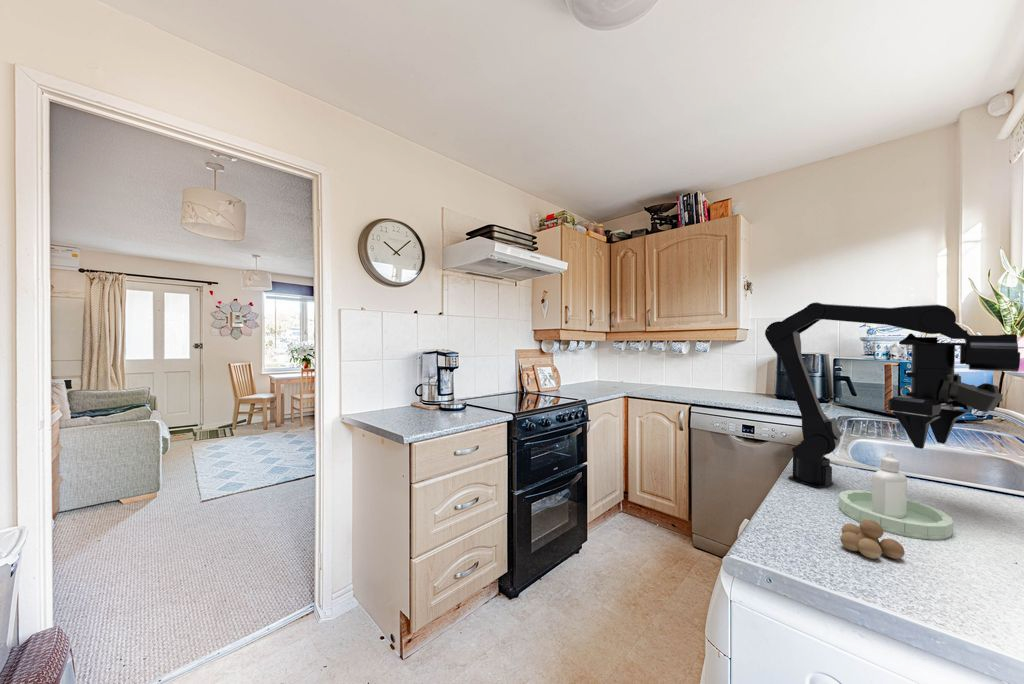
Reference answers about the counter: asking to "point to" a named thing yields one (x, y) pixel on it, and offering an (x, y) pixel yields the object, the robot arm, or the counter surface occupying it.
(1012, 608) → the counter surface
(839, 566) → the counter surface
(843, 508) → the sage dish
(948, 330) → the robot arm
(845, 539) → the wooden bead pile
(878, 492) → the eye dropper bottle
